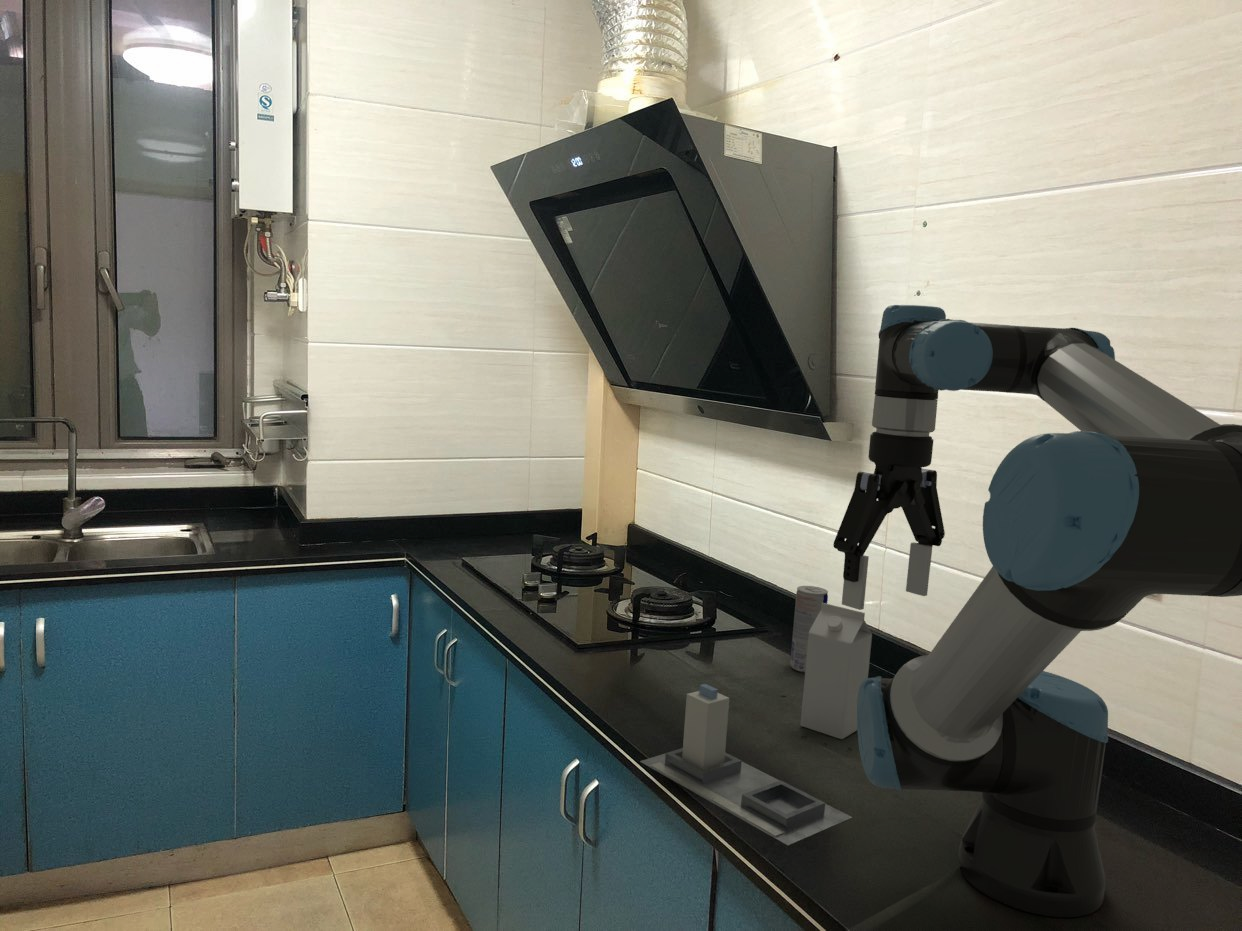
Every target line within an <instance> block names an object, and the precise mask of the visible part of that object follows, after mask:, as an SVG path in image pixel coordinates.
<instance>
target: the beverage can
mask: <svg viewBox="0 0 1242 931" xmlns="http://www.w3.org/2000/svg"><path fill="white" fill-rule="evenodd" d="M796 589H797V591H796V594H795V607H794V616H793V627H792V628H793V629H792V640H791V650H790V662H789V664H790V665H789V666H790V667H791V668H792V669H794V670H795V671H798V672H800V673H804V674H805V669H806V658H807V647H808V636H809V631H810V629H811V627H812V625H813V623H814V621H815V620H816V618H817V616H818V614H819V612H820V610H821V605H822V603H826V604H828V601H829V600H828V598H829V595H828V593H829V591H828V590H827V589H826V588H823V587H819V586H815V585H800V586H799V585H798V586H797V588H796Z"/></svg>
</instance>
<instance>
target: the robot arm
mask: <svg viewBox="0 0 1242 931" xmlns="http://www.w3.org/2000/svg"><path fill="white" fill-rule="evenodd" d="M946 317H947V314H946V312H945V310H944V308H941V307H940V306H931V305H919V304H892V305H888V306H887V307H885V309H884V310H883V312H882V318H881V324H880V329H879V331H878V339H879V341H878V352H877V353H878V354H877V364H876V373H875V374H876V375H875V384H874V385H875V386H874V389H875V390H874V402H873V410H872V420H871V426H872V428H875V429H876V431H873V432H871V434H870V436H869V445H868V447H869V448H868V460H869V461H870V462H871V463H874V465H875V466H874V467H875V468H874V471H873V473H872V472H864V471H858V472H857V474H856V476H855V477H856V479H855V484H854V488H853V493H852V495H851V498H850V499H849V503H848V505H847V507H846V510H845V513H844V516H843V518H842V519H841V520H842V521H841V522H840V526H839V528H838V531H837V533H836V535H835V538H834V540H833V544H832V545H833V548H834V549H837V551H838V552H840V553H841V552H842V553H844V560H843V562H844V564H843V573H842V576H843V584H842V586H843V587H842V597H841V605H843V606H846V607H849V608H852V609H854V610H855V609H856V610H859V611H860V610H864V607H865V599H866V598H865V597H866V587H867V577H868V567H869V560H870V559H869V558H870V557H869V555H865V552H866V551H867V549H868V548H869V546H870V545H871V543H872V542H873V541H872V540H873V539H874V538H875V535H876V534H877V532H878V530H879V529H880V527H881V525H882V523H883V521H884V520H885V518H886V516H887V515H888V514H890V513H892V512H893V511H894V510H895V509H900V508H901V510H902V512H903V513H904V516H905V519H906V521H907V523H908V526H909V527H910V531H911V532H912V535H913V538H914V540H915V542H914V541H913V542H910V546H909V556H908V565H907V575H906V576H907V577H906V585H905V587H906V588H905V592H906V593H911V594H914V595H918V596H921V597H926V596H928V590H929V580H930V572H931V565H932V564H931V563H932V554H933V553H932V552H933V547H934V546H935V547H940V546H941V545H942V542H943V539H944V538H945V534H946V531H945V526H944V521H943V515H942V509H941V505H940V501H939V500H940V499H939V493H938V488H937V486H938V484H937V483H938V480H937V479H938V471H936V470H933V469H929V468H926V467H929V466H930V465H931V464H932V458H933V457H932V456H933V451H934V450H933V449H934V448H933V447H934V439H933V436H930V433H933V432H934V431H935V430H936V421H937V409H938V399H939V391H950V392H951V391H952V392H956V391H961V390H962V391H973V392H974V391H978V392H995V393H996V392H998V393H1007V394H1008V393H1009V394H1023V395H1032V396H1033V395H1035V396H1037V397H1038V398H1040V399H1041V400H1042V401H1044V402H1045V403H1046V404H1047V405H1049V406H1050V407H1051V408H1052V409H1054V410H1055V411H1056V412H1057V413H1059V414H1060V415H1061V416H1062V417H1064V418H1065V419H1066V420H1067V421H1068V422H1069V423H1071V424H1072V425H1073V426H1075V427H1076V428H1077V429H1078V430H1077V431H1075V430H1074V431H1071V432H1069V433H1067V432H1066V433H1065V432H1063V433H1062V432H1060V433H1059V432H1053V433H1052V432H1050V433H1049V432H1048V433H1042V434H1041V433H1039V434H1037V435H1034V436H1031V437H1028V438H1027V439H1025V440H1022V442H1020V443H1018V444H1017V445H1016V446H1015V447H1013V448H1012V449H1011V450H1009V452H1008V453H1007V454H1006V455H1005V457H1004V458H1003V459H1002V460H1001V462H1000V464H999V465H998V467H997V469H996V470H995V472H994V474H993V476H992V479H991V481H990V484H989V487H988V490H987V491H988V492H989V499H988V501H985V503H984V508H983V515H982V534H983V535H982V537H983V542H984V543H983V544H984V547H985V551H986V554H987V558H988V559H989V561H990V563H991V565H992V566H991V568H990V569H989V571H988V572H987V574H986V575H985V576H984V578H983V579H982V580H981V582H980V584H979V585H978V586H977V587H976V588H975V591H974V592H973V593H972V594H971V596H970V597H969V598H968V600H967V601H966V602H965V604H964V605H963V607H961V610H960V611H959V612H958V613H957V615H956V616H955V618H954V619H953V620H952V622H951V623H950V625H949V626H948V628H946V631H945V632H944V633H943V634H942V636H941V637H940V639H939V640H938V641H937V643H936V644H935V646H934V647H933V649H931V651H930V653H929V654H924V655H920V656H917V657H914V658H913V659H910V660H909V661H907V662H906V663H904V664H903V665H901V667H900V668H899V669H898V671H897V672H896V674H895V675H894V677H892V678H887V677H886V678H885V677H884V678H883V677H882V676H881V675H879V676H878V675H877V676H875V677H868V678H867V679H865V680H864V681H863V682H862V683H861V685H860V688H859V691H858V698H857V731H856V732H857V740H858V748H859V754H860V759H861V760H860V761H861V764H862V767H863V770H864V772H865V775H866V777H867V779H868V780H869V782H870V783H871V784H872V785H874V786H875V787H878V788H883V789H891V790H897V791H898V792H903V790H912V791H914V790H915V791H916V790H917V791H918V790H919V791H939V792H940V791H942V792H943V791H945V792H965V793H966V792H968V793H981V800H980V803H979V804H978V806H977V808H976V810H975V812H974V813H973V816H972V818H971V819H970V822H969V823H968V826H967V827H966V829H965V832H964V833H963V835H962V837H961V839H960V843H959V850H958V860H959V864H960V865H961V866H959V867H958V869H959V871H960V873H961V875H962V876H963V877H964V878H965V880H967V881H968V883H970V884H971V885H972V886H973V887H974V888H975V889H977V890H978V891H980V892H981V893H983V894H984V893H985V894H984V895H986V896H988V897H989V898H991V899H994V900H995V901H997V902H999V901H1000V902H999V903H1001V902H1003V903H1004V905H1006V904H1007V905H1006V906H1008V905H1009V907H1011V906H1012V907H1011V908H1014V909H1017V910H1020V909H1021V910H1020V911H1023V912H1027V913H1031V914H1035V915H1041V916H1046V917H1053V918H1054V917H1055V918H1076V917H1083V916H1086V915H1090V914H1092V913H1094V912H1096V911H1098V910H1099V909H1100V908H1101V907H1102V905H1103V902H1104V900H1105V890H1106V873H1105V869H1104V866H1103V860H1102V856H1101V853H1100V846H1099V843H1098V838H1097V834H1096V830H1095V829H1096V817H1097V811H1098V810H1097V808H1098V804H1099V797H1100V796H1099V795H1100V787H1101V782H1102V781H1101V780H1102V774H1103V766H1104V759H1105V758H1104V757H1105V751H1106V744H1107V743H1108V742H1109V736H1108V733H1109V708H1108V706H1107V704H1106V702H1105V701H1104V699H1103V698H1102V697H1101V696H1100V695H1099V694H1098V693H1097V692H1095V691H1094V690H1092V689H1090V688H1088V687H1087V686H1085V685H1083V684H1081V683H1078V682H1076V681H1074V680H1072V679H1069V678H1067V677H1064V676H1061V675H1059V674H1055V673H1052V672H1050V671H1049V672H1048V671H1045V670H1046V668H1047V667H1048V666H1049V665H1051V663H1053V661H1054V660H1055V659H1056V658H1057V657H1058V656H1059V655H1060V654H1061V653H1062V652H1063V651H1064V649H1066V648H1067V647H1068V646H1069V645H1070V644H1071V643H1072V641H1073V640H1074V639H1075V638H1076V637H1077V636H1078V635H1079V634H1080V633H1082V632H1093V631H1094V632H1095V631H1098V630H1103V629H1106V628H1108V627H1111V626H1114V625H1115V624H1117V623H1118V622H1120V621H1121V620H1123V619H1124V618H1125V617H1126V615H1128V614H1129V612H1131V611H1132V610H1133V609H1135V607H1136V606H1137V605H1138V604H1139V603H1140V602H1141V601H1142V600H1143V599H1144V598H1146V597H1148V596H1151V595H1173V596H1197V597H1198V596H1201V597H1214V598H1215V597H1216V598H1217V597H1219V598H1225V597H1238V596H1239V597H1240V596H1242V424H1236V423H1235V424H1234V423H1229V424H1227V423H1224V424H1220V423H1218V422H1217V421H1215V420H1214V419H1211V418H1210V417H1209V416H1207V415H1205V414H1204V413H1202V412H1200V411H1199V410H1197V409H1196V408H1194V407H1192V406H1190V405H1189V404H1188V403H1186V402H1184V401H1183V400H1181V399H1179V398H1177V397H1176V396H1174V395H1172V394H1171V393H1170V392H1168V391H1166V390H1164V389H1162V388H1161V387H1160V386H1158V385H1156V384H1155V383H1154V382H1152V381H1150V380H1149V379H1147V378H1146V377H1143V376H1141V374H1139V373H1137V372H1135V371H1133V370H1132V369H1130V368H1129V367H1127V366H1126V365H1124V364H1122V363H1121V362H1119V361H1117V360H1116V356H1115V353H1116V352H1115V349H1114V347H1113V346H1112V345H1111V340H1110V339H1109V338H1108V336H1107V335H1105V334H1103V333H1101V332H1099V331H1094V330H1093V331H1092V330H1084V329H1083V328H1077V327H1068V328H1067V327H1065V328H1062V327H1061V328H1060V327H1046V326H1045V327H1044V326H1041V327H1040V326H1027V325H1026V326H1025V325H1010V324H999V323H998V324H995V323H985V322H983V323H982V322H969V321H966V320H962V319H950V318H946ZM1003 903H1002V904H1003Z"/></svg>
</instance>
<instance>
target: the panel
mask: <svg viewBox="0 0 1242 931" xmlns="http://www.w3.org/2000/svg"><path fill="white" fill-rule="evenodd" d="M682 753H683V747H680V748H678V749H675V750H672V751H669V752H665V753H662V754H659V755H656V756H652V757H650V758H646V759H643V760H640V761H639V762H640V763H641V764H643V765H645V766H647V767H649V769H652V770H654V771H656V772H657V773H660V774H661V775H662V776H664V777H666V778H668V779H670V780H671V781H673V782H674V783H677V784H678V785H680V786H682V787H684V788H685V789H688V790H689V791H691V792H693V793H694V794H696V795H698V796H700V797H701V798H702V799H706V800H707V801H708V802H710V803H712V804H713V805H716V806H717V807H719V808H720V809H723V810H724V811H725V812H728V813H730V814H731V815H733V816H734V817H737V818H739V819H740V820H742V821H743V822H745V823H747V824H749V825H751V826H752V827H754V828H756V829H758V830H760V831H761V832H763V833H764V834H766V835H768V836H770V837H771V838H774V839H775V840H777V841H779V842H780V843H783V844H784V845H786V846H790V845H793V844H795V843H797V842H799V841H802V840H804V839H806V838H808V837H811V836H813V835H815V834H818V833H821V832H822V831H824V830H827V829H829V828H832V827H834V826H837V825H839V824H841V823H843V822H846V821H848V820H850V819H853V816H850V815H849V814H846V813H845V812H843V811H840V810H839V809H837V808H835V807H833V806H831V805H829V804H827V803H826V802H824V801H823V800H822V799H819V798H817V797H815V796H812V794H811V795H810V794H809V793H807V792H805V791H803V790H801V789H799V788H797V787H795V786H793V785H791V784H789V783H787V782H785V781H783V780H779V779H777V777H774V776H772V775H769V774H767V773H766V772H764V771H761V770H760V769H758V768H756V767H754V766H752V765H749V764H748V763H746V762H744V761H743V760H741V759H739V758H738V757H735V756H733V755H731V754H730V753H727V752H726V751H725V760H724V763H722V764H719V765H716V766H713V767H710V768H707V769H704V770H703V769H701V768H699V767H697V766H696V765H694V764H692V763H690V762H688V761H686V760H684V759H682Z"/></svg>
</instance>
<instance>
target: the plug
mask: <svg viewBox="0 0 1242 931" xmlns="http://www.w3.org/2000/svg"><path fill="white" fill-rule="evenodd" d="M729 707H730V697H728V696H726V695H723V694H721V693H719V689H718V688H715V687H714V686H712V685H709V684H706V683H703V684H699V689H698V690H697V691H694V692H693V691H692V692H690V693H686V702H685V713H684V714H685V715H684V726H683V729H684V730H683V738H682V739H683V742H682V748H683V753H682V759H684V760H686V761H688V762H690V763H692V764H694V765H696V766H697V767H699V768H701V769H703V770H704V769H707V768H710V767H713V766H716V765H719V764H722V763H724V760H725V752H726V749H727V748H726V745H727V733H728V732H727V731H728V724H729V723H728V720H729Z"/></svg>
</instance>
